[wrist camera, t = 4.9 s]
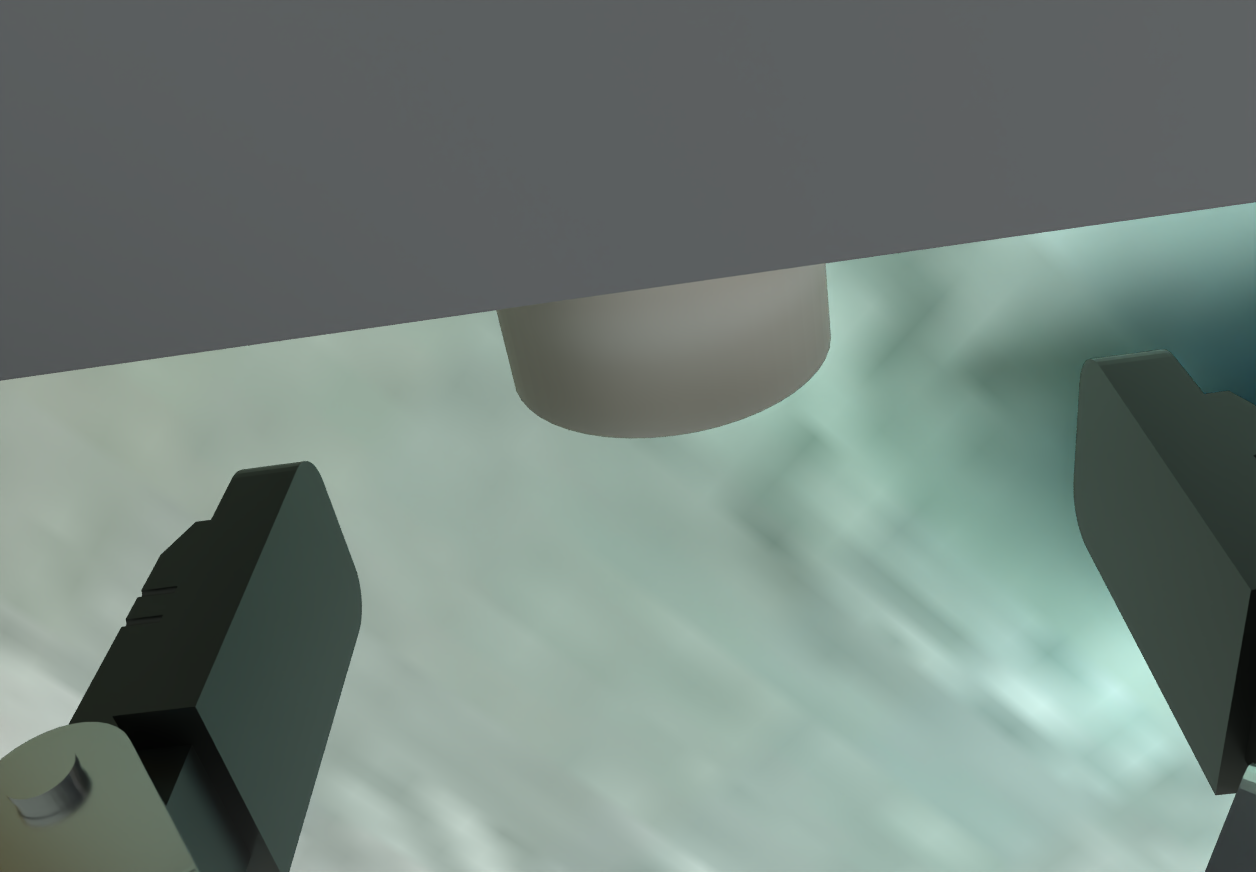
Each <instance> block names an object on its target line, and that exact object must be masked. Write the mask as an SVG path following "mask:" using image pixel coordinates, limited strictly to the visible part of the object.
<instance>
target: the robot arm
mask: <svg viewBox="0 0 1256 872" xmlns="http://www.w3.org/2000/svg"><path fill="white" fill-rule="evenodd" d="M1074 504H1075V511H1076V516H1077V521H1078V525H1079V529H1080V532H1081V535H1082V538H1083V541H1084V543H1085V545H1086V547H1087V549H1088V551H1089V553H1090V555H1091V557H1092V559H1093V561H1094V563H1095V565H1096V567H1097V569H1098V571H1099V572H1100V574H1101V576H1102V578H1103V580H1104V582H1105V584H1106V586H1107V588H1108V590H1109V592H1110V594H1111V596H1112V597H1113V599H1114V601H1115V603H1116V605H1117V607H1118V609H1119V611H1120V613H1121V615H1122V617H1123V619H1124V621H1125V622H1126V624H1127V626H1128V628H1129V630H1130V632H1131V634H1132V636H1133V638H1134V640H1135V642H1136V644H1137V646H1138V647H1139V649H1140V651H1141V653H1142V655H1143V657H1144V659H1145V661H1146V663H1147V665H1148V667H1149V669H1150V670H1151V672H1152V674H1153V676H1154V678H1155V680H1156V682H1157V684H1158V686H1159V688H1160V690H1161V692H1162V694H1163V695H1164V697H1165V699H1166V701H1167V703H1168V705H1169V707H1170V709H1171V711H1172V713H1173V715H1174V717H1175V719H1176V720H1177V722H1178V724H1179V726H1180V728H1181V730H1182V732H1183V734H1184V736H1185V738H1186V740H1187V742H1188V744H1189V745H1190V747H1191V749H1192V751H1193V753H1194V755H1195V757H1196V759H1197V761H1198V763H1199V765H1200V767H1201V769H1202V770H1203V772H1204V774H1205V776H1206V778H1207V780H1208V782H1209V784H1210V786H1211V788H1212V790H1213V792H1214V793H1215V795H1222V794H1232V793H1236V795H1235V798H1234V800H1233V803H1232V805H1231V808H1230V810H1229V813H1228V815H1227V818H1226V820H1225V823H1224V825H1223V828H1222V830H1221V833H1220V835H1219V838H1218V840H1217V843H1216V845H1215V848H1214V850H1213V853H1212V855H1211V858H1210V860H1209V863H1208V865H1207V868H1206V870H1205V872H1256V405H1254V404H1252V403H1250V402H1248V401H1247V400H1245V399H1243V398H1241V397H1239V396H1238V395H1236V394H1234V393H1232V392H1230V391H1223V392H1215V393H1207V394H1204V393H1203V392H1202V391H1201V389H1200V388H1199V387H1198V386H1197V384H1196V383H1195V382H1194V381H1193V379H1192V378H1191V377H1190V376H1189V374H1188V373H1187V372H1186V370H1185V369H1184V368H1183V367H1182V365H1181V364H1180V363H1179V362H1178V360H1177V359H1176V358H1175V357H1174V356H1173V355H1172V353H1171V352H1169V351H1168V350H1164V349H1162V350H1154V351H1147V352H1139V353H1131V354H1124V355H1116V356H1109V357H1101V358H1094V359H1089V360H1087V361H1086V362H1085V363H1084V365H1083V368H1082V371H1081V376H1080V385H1079V401H1078V418H1077V434H1076V451H1075V467H1074ZM141 591H142V597H138V598H137V599H136V601H135V603H134V605H133V607H132V609H131V610H130V612H129V614H128V616H127V618H126V626H125V627H121V629H120V631H119V633H118V634H117V636H116V638H115V640H114V642H113V644H112V645H111V647H110V649H109V651H108V653H107V655H106V657H105V658H104V660H103V662H102V664H101V666H100V668H99V669H98V671H97V673H96V675H95V677H94V679H93V680H92V682H91V684H90V686H89V688H88V690H87V692H86V693H85V695H84V697H83V699H82V701H81V703H80V704H79V706H78V708H77V710H76V712H75V714H74V715H73V717H72V719H71V721H70V723H69V725H66V726H62V727H58V728H56V729H53V730H50V731H48V732H45V733H43V734H41V735H39V736H36V737H34V738H32V739H30V740H29V741H27V742H25V743H24V744H22V745H20V746H19V747H17V748H15V749H14V750H13V751H11V752H10V753H9V754H7V755H6V756H4V757H3V758H2V759H1V760H0V872H289V871H290V867H291V864H292V860H293V857H294V853H295V850H296V847H297V843H298V840H299V836H300V833H301V829H302V826H303V822H304V819H305V816H306V812H307V809H308V805H309V802H310V798H311V795H312V791H313V788H314V785H315V781H316V778H317V774H318V771H319V767H320V764H321V760H322V757H323V754H324V750H325V747H326V743H327V740H328V736H329V733H330V729H331V726H332V723H333V719H334V716H335V712H336V709H337V705H338V702H339V699H340V695H341V692H342V688H343V685H344V681H345V678H346V674H347V671H348V668H349V664H350V661H351V657H352V654H353V650H354V647H355V643H356V640H357V637H358V633H359V629H360V624H361V615H362V600H361V590H360V584H359V579H358V575H357V572H356V569H355V566H354V563H353V560H352V558H351V555H350V552H349V550H348V547H347V544H346V542H345V539H344V536H343V534H342V531H341V528H340V525H339V523H338V520H337V517H336V515H335V512H334V509H333V507H332V504H331V501H330V499H329V496H328V493H327V491H326V488H325V485H324V482H323V480H322V478H321V475H320V473H319V472H318V470H317V468H316V467H315V466H314V465H313V464H312V463H311V462H308V461H303V462H296V463H288V464H281V465H273V466H266V467H258V468H251V469H243V470H240V471H238V472H237V473H235V475H234V476H233V478H232V480H231V482H230V483H229V485H228V487H227V489H226V491H225V493H224V495H223V497H222V499H221V501H220V503H219V505H218V507H217V509H216V511H215V513H214V515H213V517H212V519H211V520H206V521H199V522H195V523H194V524H193V525H192V526H191V527H190V528H189V529H188V530H187V531H186V532H185V533H183V534H182V535H181V536H180V537H179V538H178V539H177V540H176V541H175V542H174V543H173V544H172V545H171V546H170V547H169V548H168V549H166V550H165V551H164V552H163V553H162V554H161V555H160V557H159V559H158V561H157V563H156V564H155V566H154V568H153V570H152V572H151V574H150V575H149V577H148V579H147V581H146V583H145V585H144V586H143V588H142V590H141Z"/></svg>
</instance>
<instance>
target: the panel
mask: <svg viewBox="0 0 1256 872" xmlns="http://www.w3.org/2000/svg"><path fill="white" fill-rule="evenodd" d="M1253 202H1256V0H0V381H1V380H8V379H15V378H22V377H29V376H36V375H43V374H50V373H57V372H64V371H71V370H78V369H85V368H92V367H99V366H106V365H113V364H120V363H127V362H134V361H142V360H149V359H156V358H163V357H170V356H177V355H184V354H191V353H198V352H205V351H212V350H219V349H226V348H233V347H240V346H247V345H254V344H261V343H268V342H275V341H282V340H289V339H296V338H303V337H310V336H317V335H324V334H331V333H338V332H345V331H352V330H360V329H367V328H374V327H381V326H388V325H395V324H402V323H409V322H416V321H423V320H430V319H437V318H444V317H451V316H458V315H465V314H472V313H479V312H486V311H493V310H500V309H507V308H514V307H521V306H528V305H535V304H542V303H549V302H556V301H563V300H570V299H578V298H585V297H592V296H599V295H606V294H613V293H620V292H627V291H634V290H641V289H648V288H655V287H662V286H669V285H676V284H683V283H690V282H697V281H704V280H711V279H718V278H725V277H732V276H739V275H746V274H753V273H760V272H767V271H774V270H781V269H788V268H796V267H803V266H810V265H817V264H824V263H831V262H838V261H845V260H852V259H859V258H866V257H873V256H880V255H887V254H894V253H901V252H908V251H915V250H922V249H929V248H936V247H943V246H950V245H957V244H964V243H971V242H978V241H985V240H992V239H999V238H1006V237H1014V236H1021V235H1028V234H1035V233H1042V232H1049V231H1056V230H1063V229H1070V228H1077V227H1084V226H1091V225H1098V224H1105V223H1112V222H1119V221H1126V220H1133V219H1140V218H1147V217H1154V216H1161V215H1168V214H1175V213H1182V212H1189V211H1196V210H1203V209H1210V208H1217V207H1224V206H1232V205H1239V204H1246V203H1253Z"/></svg>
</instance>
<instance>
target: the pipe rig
mask: <svg viewBox="0 0 1256 872" xmlns="http://www.w3.org/2000/svg"><path fill="white" fill-rule="evenodd" d="M497 314H498V318H499V323H500V327H501V331H502V335H503V339H504V343H505V347H506V351H507V355H508V359H509V363H510V367H511V371H512V375H513V379H514V383H515V387H516V391H517V393H518V395H519V397H520V398H521V400H522V401H523V402H524V404H525V405H526V406H527V407H528V408H529V409H530V410H531V411H533V412H534V413H535V414H537V415H538V416H539V417H541V418H543V419H545V420H546V421H548V422H550V423H552V424H555V425H557V426H560V427H563V428H565V429H568V430H572V431H576V432H580V433H584V434H589V435H596V436H603V437H614V438H655V437H666V436H676V435H682V434H688V433H694V432H699V431H703V430H707V429H711V428H716V427H720V426H723V425H726V424H729V423H732V422H735V421H738V420H742V419H744V418H746V417H749V416H751V415H754V414H756V413H759V412H761V411H763V410H765V409H767V408H769V407H771V406H773V405H775V404H777V403H779V402H780V401H782V400H783V399H785V398H787V397H788V396H790V395H791V394H793V393H794V392H796V391H797V390H798V389H799V388H800V387H802V386H803V385H804V384H805V383H807V382H808V381H809V380H810V379H811V377H812V376H813V375H814V374H815V373H816V372H817V371H818V370H819V368H820V367H821V365H822V363H823V362H824V360H825V359H826V356H827V353H828V351H829V348H830V339H831V334H830V320H829V306H828V292H827V279H826V265H825V263H824V264H817V265H810V266H803V267H796V268H788V269H781V270H774V271H767V272H760V273H753V274H746V275H739V276H732V277H725V278H718V279H711V280H704V281H697V282H690V283H683V284H676V285H669V286H662V287H655V288H648V289H641V290H634V291H627V292H620V293H613V294H606V295H599V296H592V297H585V298H578V299H570V300H563V301H556V302H549V303H542V304H535V305H528V306H521V307H514V308H507V309H500V310H497Z"/></svg>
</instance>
